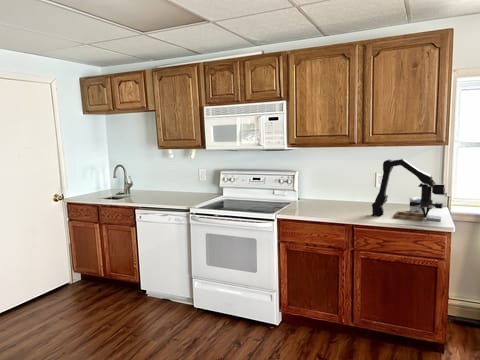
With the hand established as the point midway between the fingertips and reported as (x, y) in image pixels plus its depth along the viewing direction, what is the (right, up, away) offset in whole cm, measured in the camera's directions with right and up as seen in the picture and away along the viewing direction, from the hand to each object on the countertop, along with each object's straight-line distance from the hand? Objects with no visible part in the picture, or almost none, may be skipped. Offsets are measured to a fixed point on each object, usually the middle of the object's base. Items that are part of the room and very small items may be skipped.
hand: (425, 217), depth 235 cm
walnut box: (-8, -2, +6) cm, 10 cm away
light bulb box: (+4, +1, +21) cm, 21 cm away
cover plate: (+4, -3, -2) cm, 5 cm away
